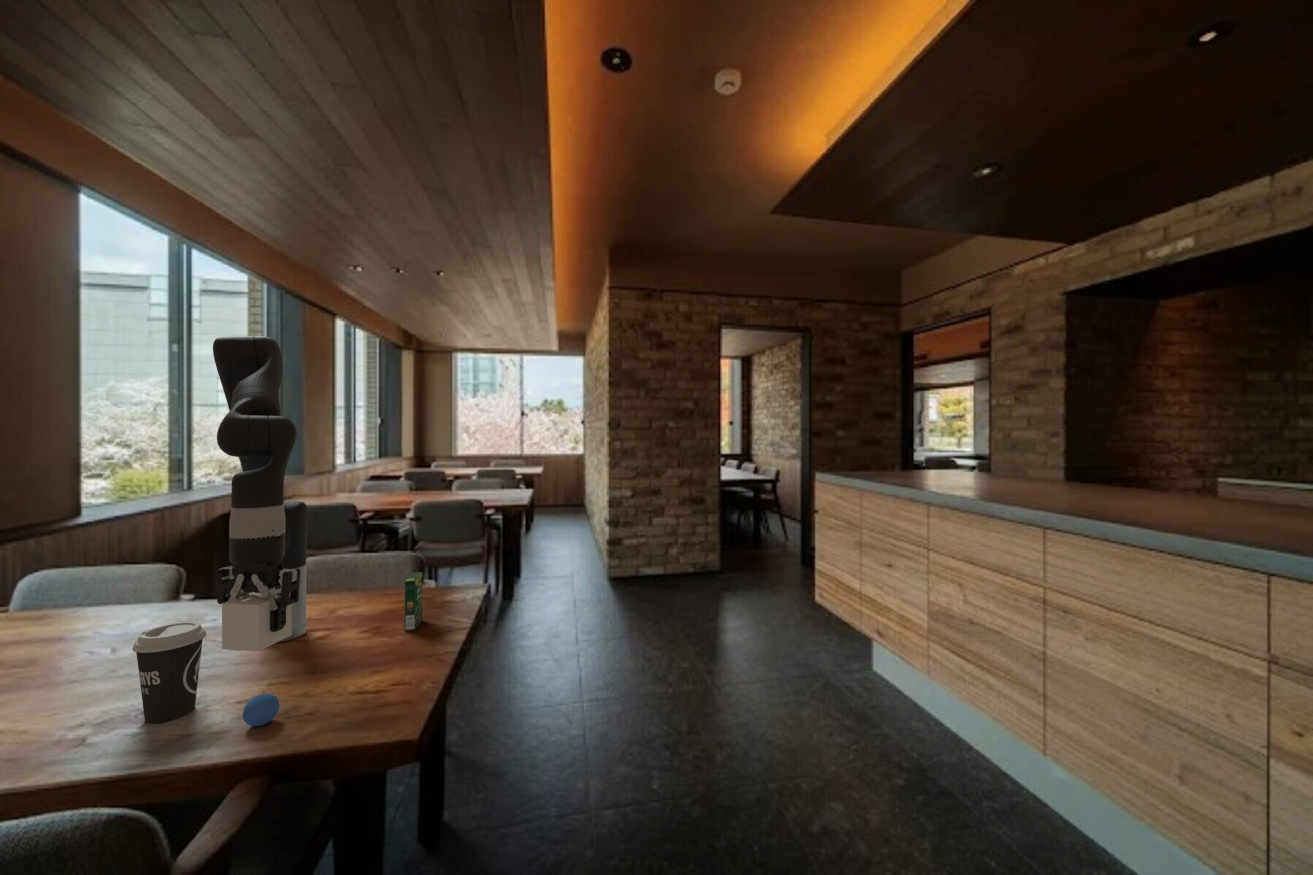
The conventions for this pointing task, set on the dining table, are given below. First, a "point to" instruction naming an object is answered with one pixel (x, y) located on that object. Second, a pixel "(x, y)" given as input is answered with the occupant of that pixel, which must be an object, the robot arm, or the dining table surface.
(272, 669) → the dining table surface
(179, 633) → the coffee cup
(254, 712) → the blue egg
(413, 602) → the coffee box
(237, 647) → the block
